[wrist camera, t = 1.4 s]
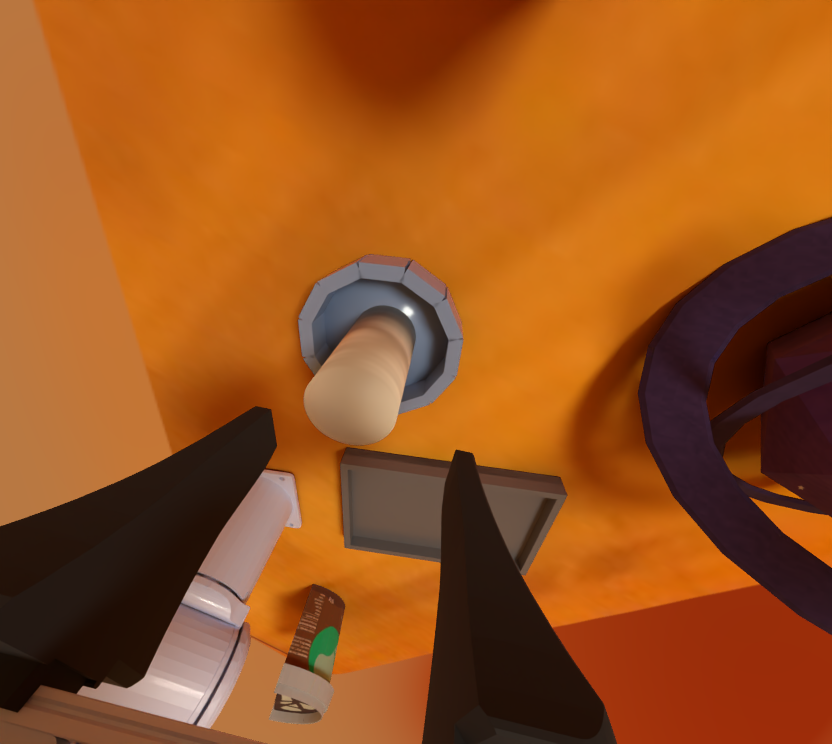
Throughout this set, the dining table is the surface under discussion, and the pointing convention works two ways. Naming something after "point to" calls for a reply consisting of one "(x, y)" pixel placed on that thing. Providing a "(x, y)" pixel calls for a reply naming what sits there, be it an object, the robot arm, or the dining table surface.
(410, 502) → the tray
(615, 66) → the dining table surface
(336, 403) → the dowel pin
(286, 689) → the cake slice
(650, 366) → the decorative bottle
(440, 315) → the grey round dish
